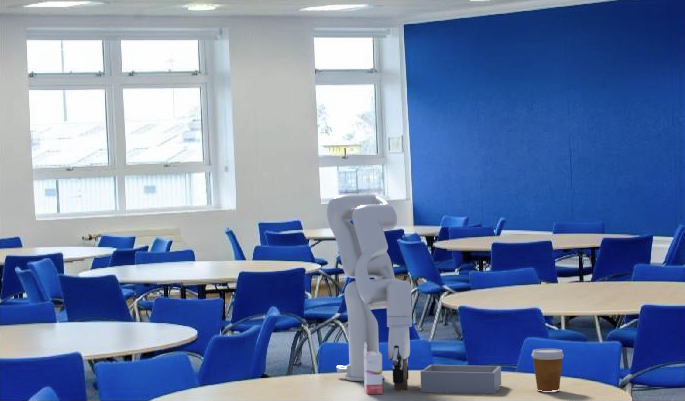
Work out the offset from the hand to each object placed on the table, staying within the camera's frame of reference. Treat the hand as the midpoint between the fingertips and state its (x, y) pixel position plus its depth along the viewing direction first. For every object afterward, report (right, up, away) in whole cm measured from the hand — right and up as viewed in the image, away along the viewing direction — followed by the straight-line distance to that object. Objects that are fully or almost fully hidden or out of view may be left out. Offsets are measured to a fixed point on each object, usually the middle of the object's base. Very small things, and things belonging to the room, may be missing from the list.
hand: (400, 380), depth 369 cm
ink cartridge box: (-8, -3, -4) cm, 10 cm away
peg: (0, -3, 0) cm, 3 cm away
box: (+18, -2, -2) cm, 18 cm away
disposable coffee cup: (+43, -2, -10) cm, 44 cm away
